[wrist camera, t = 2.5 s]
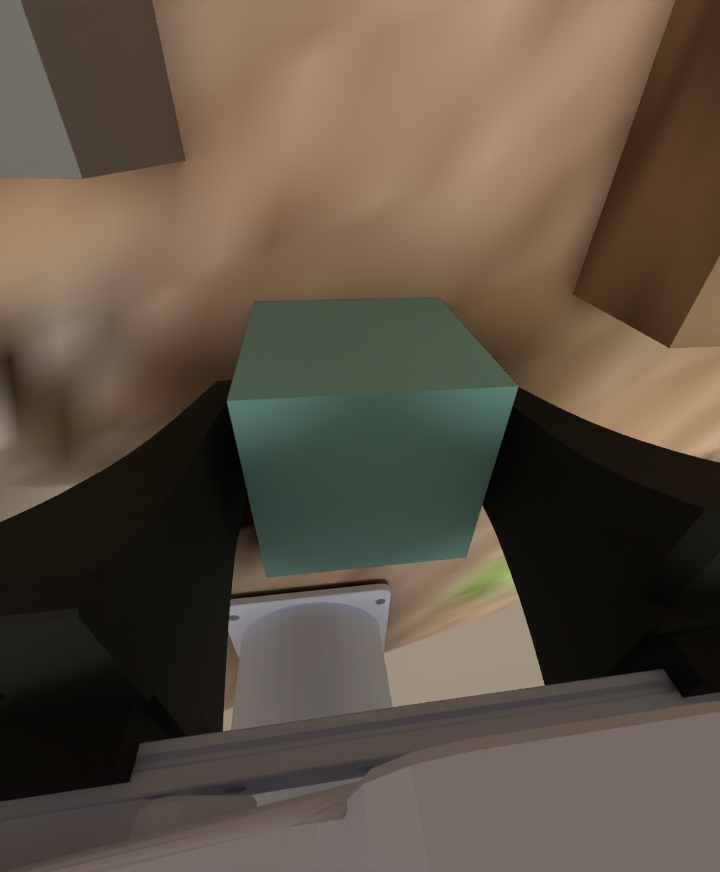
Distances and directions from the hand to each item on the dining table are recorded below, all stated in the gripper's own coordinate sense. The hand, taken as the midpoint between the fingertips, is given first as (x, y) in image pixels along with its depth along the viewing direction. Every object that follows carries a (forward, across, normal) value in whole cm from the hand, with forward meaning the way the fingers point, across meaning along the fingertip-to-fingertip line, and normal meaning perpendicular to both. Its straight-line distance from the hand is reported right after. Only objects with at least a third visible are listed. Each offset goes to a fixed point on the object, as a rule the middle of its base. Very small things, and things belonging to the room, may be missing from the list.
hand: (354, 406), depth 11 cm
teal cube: (+2, 0, 0) cm, 2 cm away
